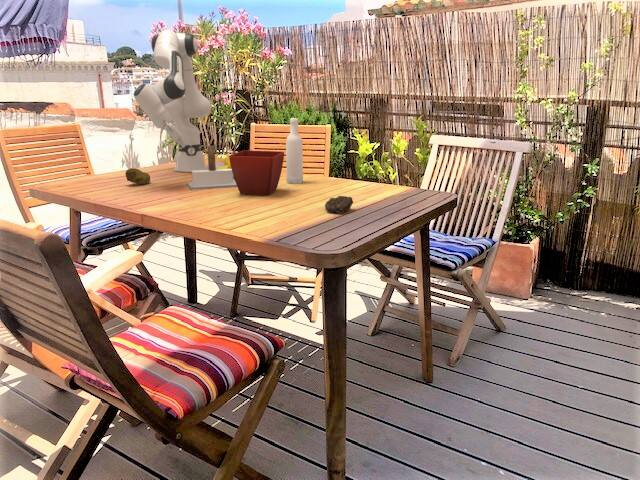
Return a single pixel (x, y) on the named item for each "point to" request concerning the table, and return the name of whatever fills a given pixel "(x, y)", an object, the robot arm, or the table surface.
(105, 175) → the table surface
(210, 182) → the ridge
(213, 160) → the post
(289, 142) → the bottle
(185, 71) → the robot arm
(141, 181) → the potato
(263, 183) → the plant pot
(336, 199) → the dark brown rock
